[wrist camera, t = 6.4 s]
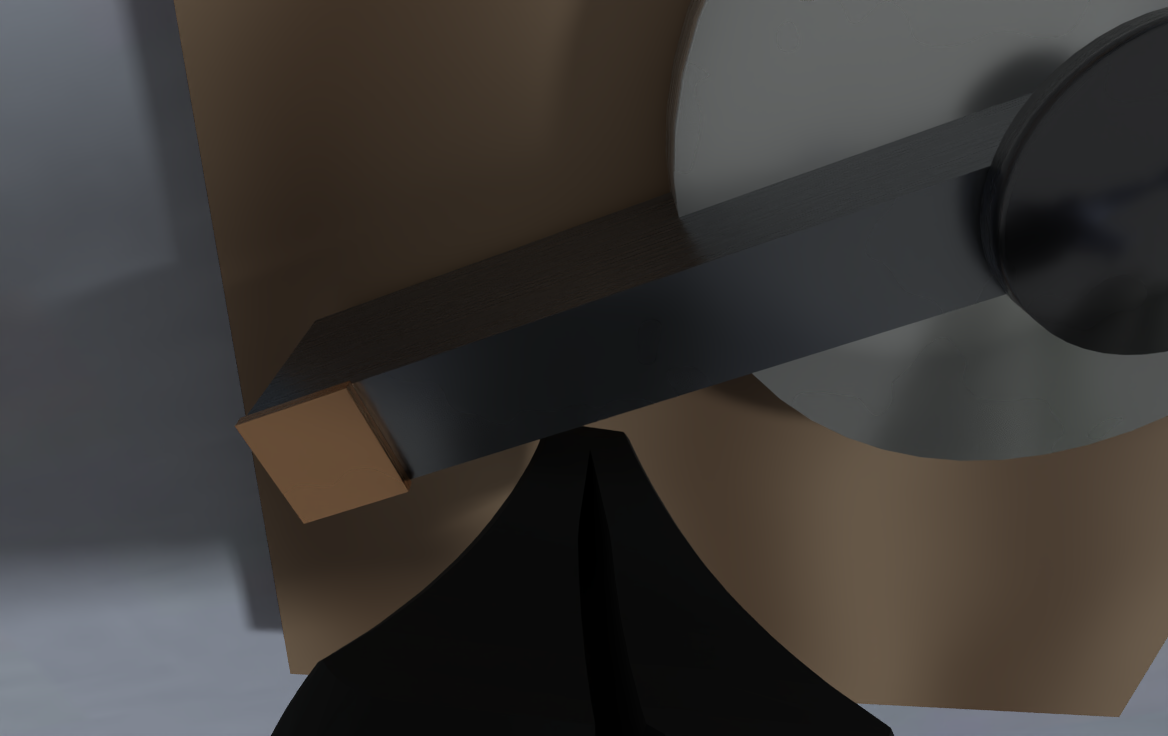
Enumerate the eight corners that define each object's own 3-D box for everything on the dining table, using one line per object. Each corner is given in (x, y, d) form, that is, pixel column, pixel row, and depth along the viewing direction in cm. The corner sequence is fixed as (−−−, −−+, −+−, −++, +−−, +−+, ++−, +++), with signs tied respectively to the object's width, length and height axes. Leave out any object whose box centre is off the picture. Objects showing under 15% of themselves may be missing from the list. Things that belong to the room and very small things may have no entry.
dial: (1451, -512, 8) (2061, -828, 5) (1359, 304, 13) (1640, 440, 9) (171, 60, 11) (-16, 116, 8) (467, 559, 16) (432, 734, 12)
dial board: (1830, -705, 9) (2088, -838, 7) (1083, 664, 19) (1124, 724, 18) (91, -870, 8) (-21, -1050, 7) (311, 622, 19) (287, 681, 17)
